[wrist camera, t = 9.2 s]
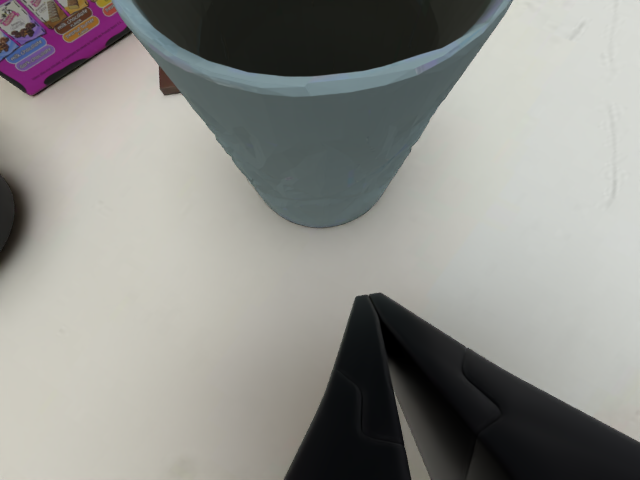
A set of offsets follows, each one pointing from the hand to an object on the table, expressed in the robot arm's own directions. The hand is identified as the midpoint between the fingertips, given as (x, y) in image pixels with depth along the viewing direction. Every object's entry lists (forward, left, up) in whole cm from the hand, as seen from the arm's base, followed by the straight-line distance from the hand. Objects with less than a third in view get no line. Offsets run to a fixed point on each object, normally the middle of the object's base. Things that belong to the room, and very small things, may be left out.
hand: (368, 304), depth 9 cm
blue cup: (+4, -8, -7) cm, 12 cm away
